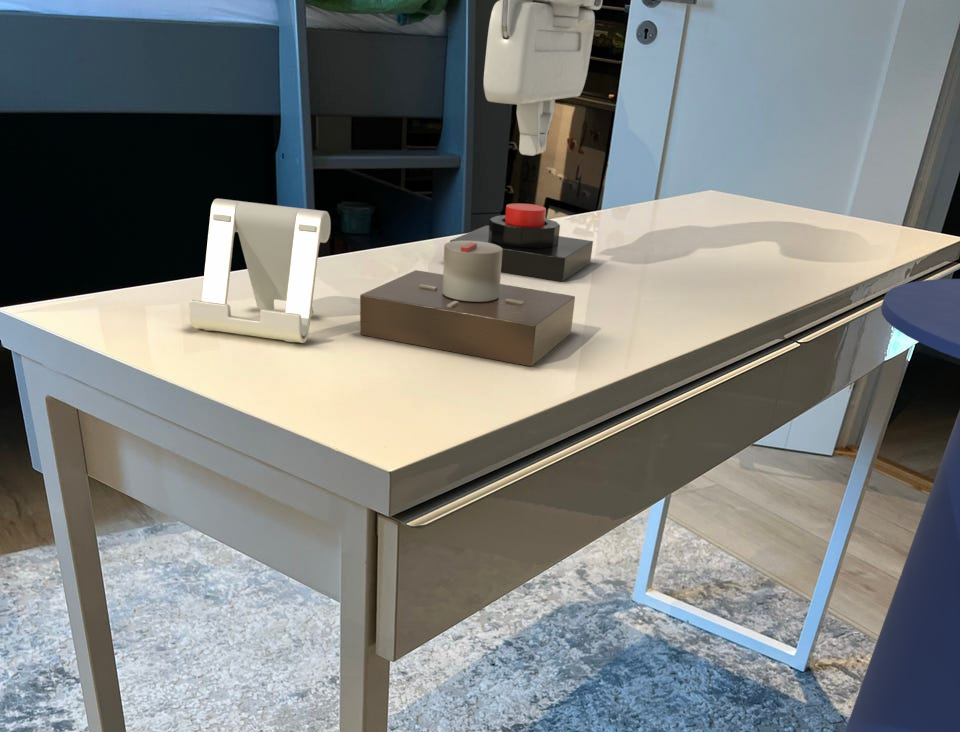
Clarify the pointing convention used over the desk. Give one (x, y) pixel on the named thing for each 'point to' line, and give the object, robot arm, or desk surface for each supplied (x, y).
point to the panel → (467, 319)
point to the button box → (534, 248)
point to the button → (525, 214)
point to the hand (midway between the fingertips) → (532, 154)
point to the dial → (472, 271)
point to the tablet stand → (262, 268)
